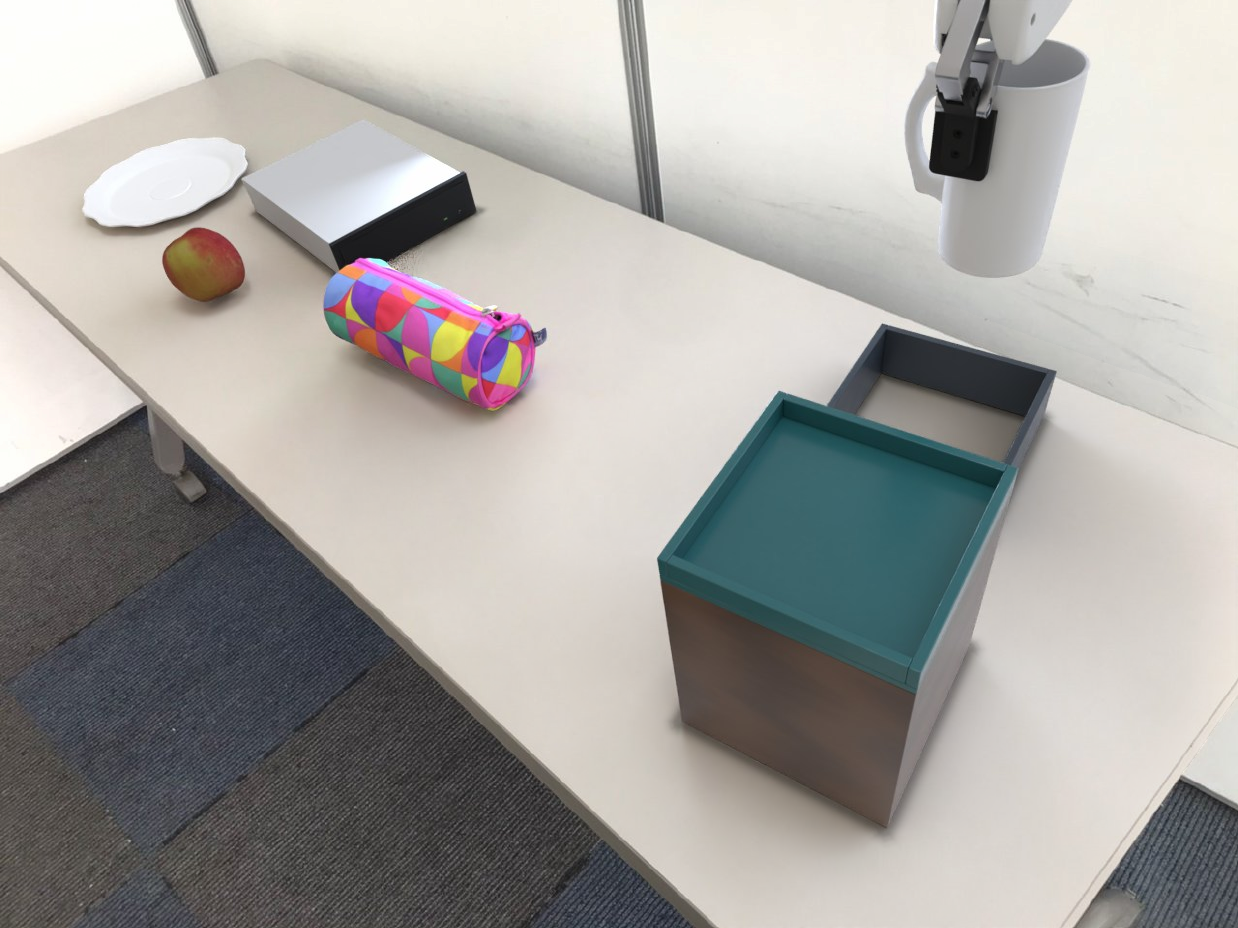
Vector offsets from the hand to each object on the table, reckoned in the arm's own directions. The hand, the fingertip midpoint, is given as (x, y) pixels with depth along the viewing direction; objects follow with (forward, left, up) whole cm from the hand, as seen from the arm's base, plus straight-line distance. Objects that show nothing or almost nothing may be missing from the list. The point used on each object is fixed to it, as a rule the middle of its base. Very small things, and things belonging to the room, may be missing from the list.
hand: (980, 141), depth 56 cm
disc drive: (+71, -9, -27) cm, 77 cm away
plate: (+100, -3, -27) cm, 104 cm away
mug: (0, 0, -7) cm, 7 cm away
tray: (-2, +22, -11) cm, 25 cm away
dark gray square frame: (0, -1, -27) cm, 27 cm away
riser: (-2, +22, -27) cm, 35 cm away
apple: (+75, +10, -27) cm, 81 cm away
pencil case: (+44, +8, -27) cm, 53 cm away
